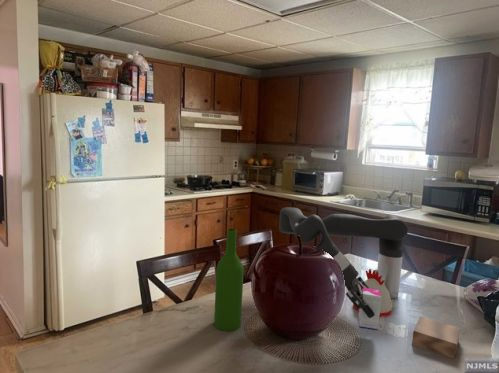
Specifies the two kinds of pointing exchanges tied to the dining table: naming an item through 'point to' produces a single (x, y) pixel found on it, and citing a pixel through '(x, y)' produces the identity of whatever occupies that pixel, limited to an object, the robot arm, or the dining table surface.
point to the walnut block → (436, 337)
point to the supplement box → (374, 303)
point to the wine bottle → (229, 287)
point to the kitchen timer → (376, 283)
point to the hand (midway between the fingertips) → (374, 311)
